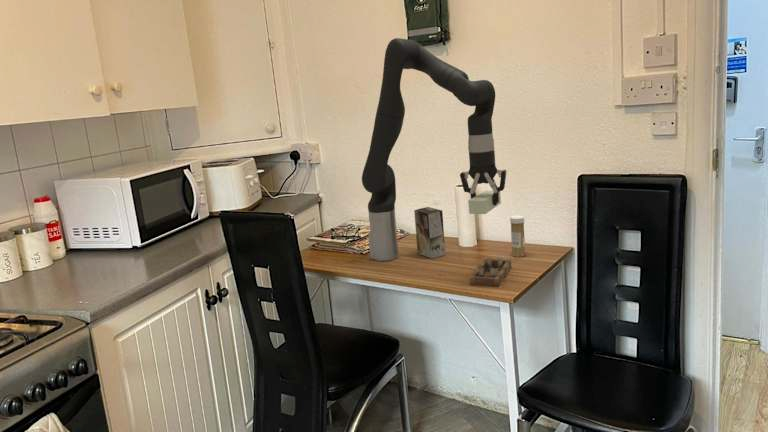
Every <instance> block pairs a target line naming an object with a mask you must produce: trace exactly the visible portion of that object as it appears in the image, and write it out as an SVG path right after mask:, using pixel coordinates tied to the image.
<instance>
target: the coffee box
mask: <svg viewBox="0 0 768 432" xmlns="http://www.w3.org/2000/svg"><path fill="white" fill-rule="evenodd" d="M414 223H415V235H416V246H417V247H416V248H417V254H418V255H421V256H424V257H426V258H429V259H435V258H439V257H443V256H445V255H446V246H445V244H446V243H445V231H444V229H445V228H444V216H443V210H442V209H438V208H433V207H429V206H425V207H421V208H418V209H414Z"/></svg>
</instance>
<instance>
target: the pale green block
mask: <svg viewBox="0 0 768 432" xmlns="http://www.w3.org/2000/svg"><path fill="white" fill-rule="evenodd" d="M493 193H494V192H493V190H483V191H482V192H480V193H479V194H476V196H475V197H473V198H472V199H471V198H470V199H468V200H467V201H468V213H469V215H486V214H488V213H489V212H490V211H492V210H493V209H495V208H497V207H498V206H499V205H501V204H502V200H501V191H499V202H498V203H497V205H494V201H493Z"/></svg>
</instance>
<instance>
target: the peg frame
mask: <svg viewBox="0 0 768 432" xmlns="http://www.w3.org/2000/svg"><path fill="white" fill-rule="evenodd" d="M495 268H497V271H498V273H497V274H496V269H495ZM511 269H512V260H511V259H503V258H501V257H498V258H497V259H494V258H493V259H492V257H487V258H484V259H483V260H482V261H481V263H480V264H479V265H478V267H477V268H476V269H475V270H474V271H473V273H472V274H471V275H470V276H469V285H470V286H481V287H482V286H483V287H498V288H499V287H500V285H502V284H501V283H503V281H504V280H505V277H506V276H507V275H508V273H509V272H510V270H511ZM486 271H488V272H490V276H485V272H486Z"/></svg>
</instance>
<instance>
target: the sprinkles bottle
mask: <svg viewBox="0 0 768 432" xmlns="http://www.w3.org/2000/svg"><path fill="white" fill-rule="evenodd" d="M509 218H510V219H509V221H510V238H511V239H510V240H511V255H512V256H513V257H517V258H521V257H524V256H526V247H525V246H526V241H525V240H526V239H525V216H524V215H517V214H515V215H511V216H510V217H509Z"/></svg>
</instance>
